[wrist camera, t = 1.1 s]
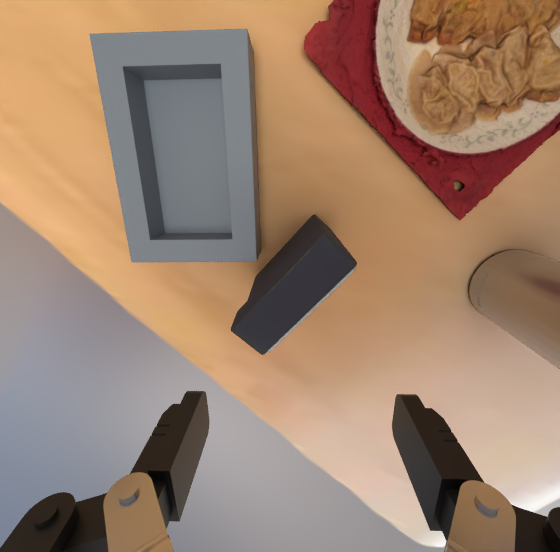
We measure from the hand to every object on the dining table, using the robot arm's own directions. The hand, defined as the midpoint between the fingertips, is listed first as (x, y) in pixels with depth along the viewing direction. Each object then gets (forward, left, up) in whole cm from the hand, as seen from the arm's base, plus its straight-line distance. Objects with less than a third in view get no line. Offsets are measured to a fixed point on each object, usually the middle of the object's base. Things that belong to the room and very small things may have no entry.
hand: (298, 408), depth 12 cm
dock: (+11, -11, -26) cm, 30 cm away
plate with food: (-11, -24, -32) cm, 42 cm away
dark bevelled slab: (0, 0, -26) cm, 26 cm away
